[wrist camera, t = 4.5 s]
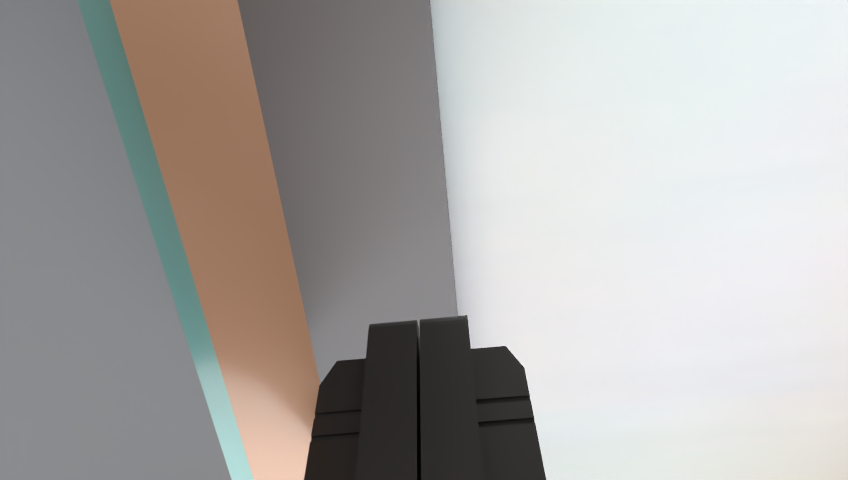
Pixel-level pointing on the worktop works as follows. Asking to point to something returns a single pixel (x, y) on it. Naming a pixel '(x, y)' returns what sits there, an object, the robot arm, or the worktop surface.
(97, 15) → the tile
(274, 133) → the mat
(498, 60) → the worktop surface
